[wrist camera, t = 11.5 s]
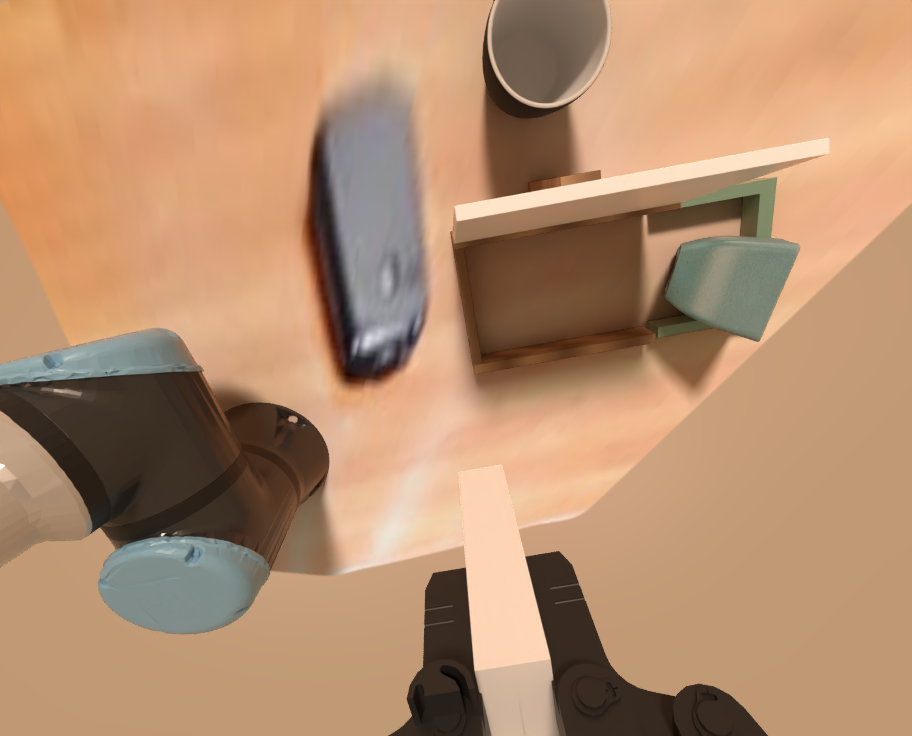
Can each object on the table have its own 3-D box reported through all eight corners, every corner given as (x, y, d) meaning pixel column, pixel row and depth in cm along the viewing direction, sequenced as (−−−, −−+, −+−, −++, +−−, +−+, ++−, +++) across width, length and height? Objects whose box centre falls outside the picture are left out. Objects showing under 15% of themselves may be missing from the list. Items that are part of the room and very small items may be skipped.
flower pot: (659, 304, 50) (747, 322, 46) (655, 321, 42) (760, 343, 39) (683, 225, 46) (781, 238, 43) (684, 228, 39) (802, 244, 35)
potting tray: (647, 331, 49) (657, 337, 47) (647, 198, 44) (658, 198, 42) (747, 313, 49) (762, 319, 47) (758, 178, 44) (777, 177, 41)
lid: (456, 221, 23) (454, 205, 23) (454, 243, 37) (452, 234, 37) (829, 153, 23) (829, 137, 22) (682, 202, 37) (682, 192, 37)
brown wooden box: (472, 364, 50) (478, 391, 43) (450, 231, 44) (453, 237, 37) (643, 334, 49) (677, 356, 42) (642, 196, 44) (681, 196, 37)
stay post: (529, 198, 43) (562, 198, 32) (528, 183, 43) (560, 177, 32) (558, 193, 43) (601, 191, 32) (557, 177, 43) (600, 169, 32)
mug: (585, 97, 40) (631, 66, 31) (501, 148, 42) (520, 133, 32) (531, -47, 36) (565, -134, 27) (440, 14, 38) (441, -48, 28)
